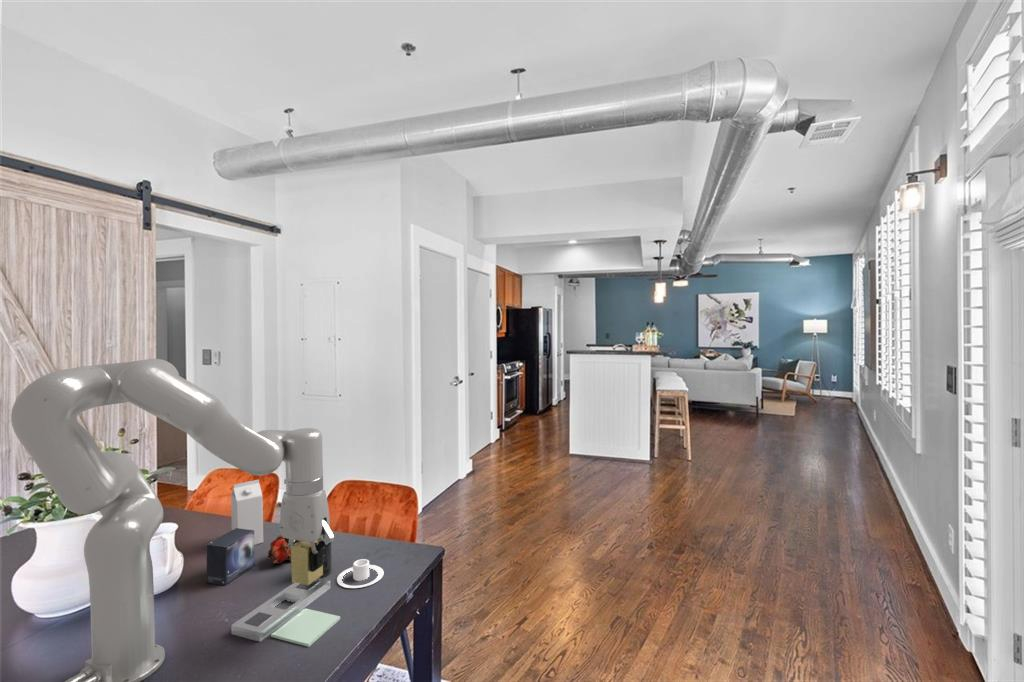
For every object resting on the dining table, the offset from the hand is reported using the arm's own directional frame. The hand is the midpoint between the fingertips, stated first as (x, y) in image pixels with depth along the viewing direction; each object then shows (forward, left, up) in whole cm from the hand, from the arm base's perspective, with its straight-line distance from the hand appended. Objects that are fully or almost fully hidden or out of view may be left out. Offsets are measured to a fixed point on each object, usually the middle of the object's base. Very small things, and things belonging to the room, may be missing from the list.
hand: (307, 566), depth 105 cm
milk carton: (+28, +48, -14) cm, 57 cm away
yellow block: (0, 0, -3) cm, 3 cm away
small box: (+12, +36, -14) cm, 41 cm away
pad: (0, 0, -14) cm, 14 cm away
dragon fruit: (+23, +28, -14) cm, 39 cm away
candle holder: (+22, +2, -15) cm, 26 cm away
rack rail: (+4, +10, -14) cm, 18 cm away
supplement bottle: (+20, +14, -14) cm, 28 cm away
